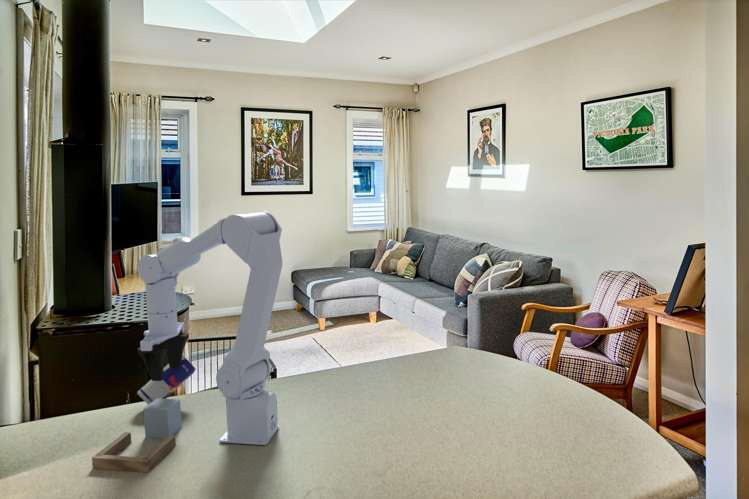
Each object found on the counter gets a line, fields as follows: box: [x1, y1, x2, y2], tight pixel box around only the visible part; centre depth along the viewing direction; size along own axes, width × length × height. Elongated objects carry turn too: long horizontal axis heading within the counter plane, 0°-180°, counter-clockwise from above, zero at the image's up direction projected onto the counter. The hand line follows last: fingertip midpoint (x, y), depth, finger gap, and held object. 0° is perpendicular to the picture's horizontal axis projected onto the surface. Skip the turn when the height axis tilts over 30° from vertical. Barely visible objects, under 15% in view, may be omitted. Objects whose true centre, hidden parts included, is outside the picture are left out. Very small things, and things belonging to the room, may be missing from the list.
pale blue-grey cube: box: [143, 398, 183, 440], centre depth 111 cm, size 5×6×6 cm
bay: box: [91, 431, 177, 473], centre depth 102 cm, size 10×10×2 cm
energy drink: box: [136, 355, 197, 406], centre depth 124 cm, size 5×5×12 cm
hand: (166, 373), depth 117 cm, fingers open, 7 cm apart
